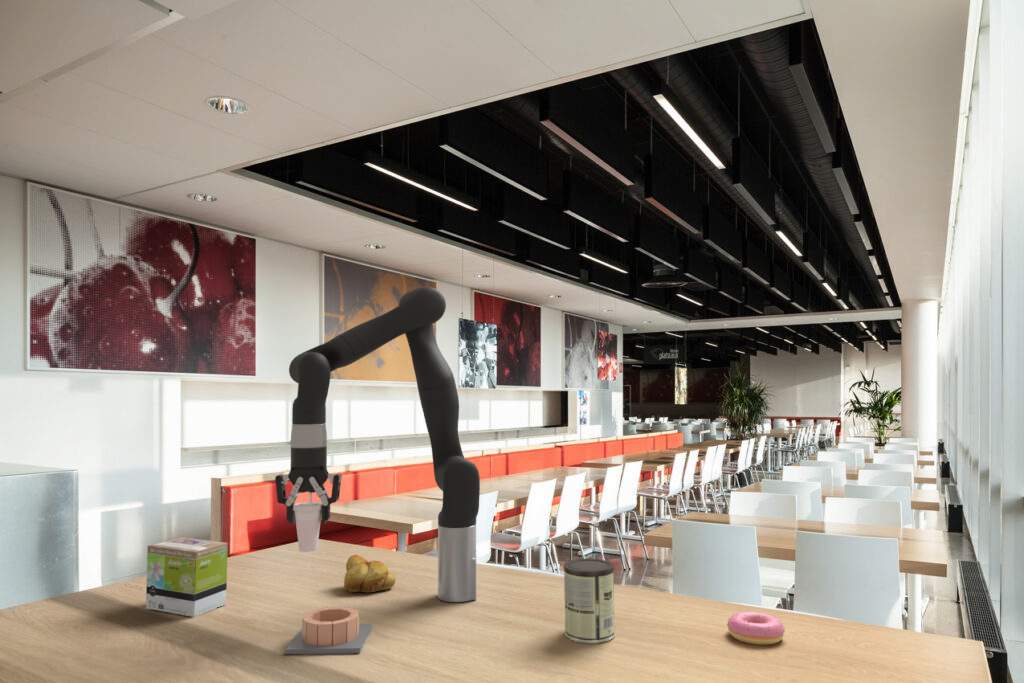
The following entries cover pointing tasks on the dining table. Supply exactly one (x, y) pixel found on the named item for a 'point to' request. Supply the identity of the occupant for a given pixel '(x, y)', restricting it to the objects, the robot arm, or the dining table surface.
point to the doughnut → (755, 628)
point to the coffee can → (589, 600)
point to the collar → (330, 632)
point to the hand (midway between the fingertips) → (308, 522)
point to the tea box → (186, 576)
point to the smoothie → (308, 524)
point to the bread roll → (367, 575)
